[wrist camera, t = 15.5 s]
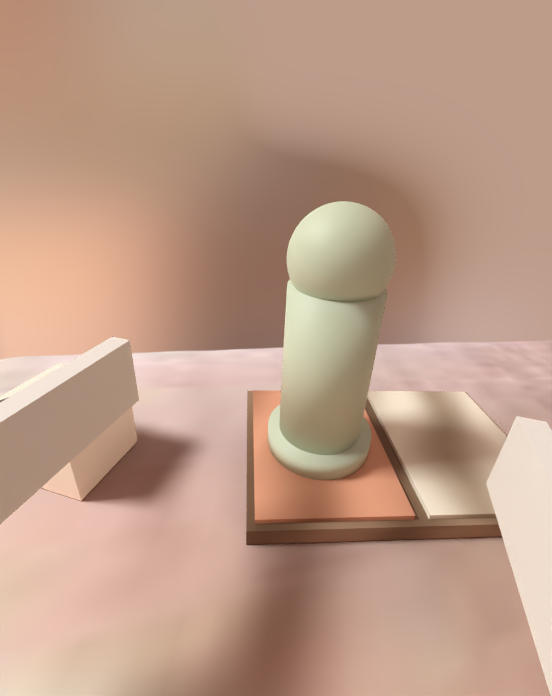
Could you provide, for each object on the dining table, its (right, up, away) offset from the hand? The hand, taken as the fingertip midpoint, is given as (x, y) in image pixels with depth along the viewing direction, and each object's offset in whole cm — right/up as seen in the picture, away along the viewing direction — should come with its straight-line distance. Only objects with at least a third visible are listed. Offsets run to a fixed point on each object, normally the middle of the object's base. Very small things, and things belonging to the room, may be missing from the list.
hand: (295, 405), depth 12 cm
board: (+6, -5, +11) cm, 14 cm away
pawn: (+2, -4, +10) cm, 11 cm away
